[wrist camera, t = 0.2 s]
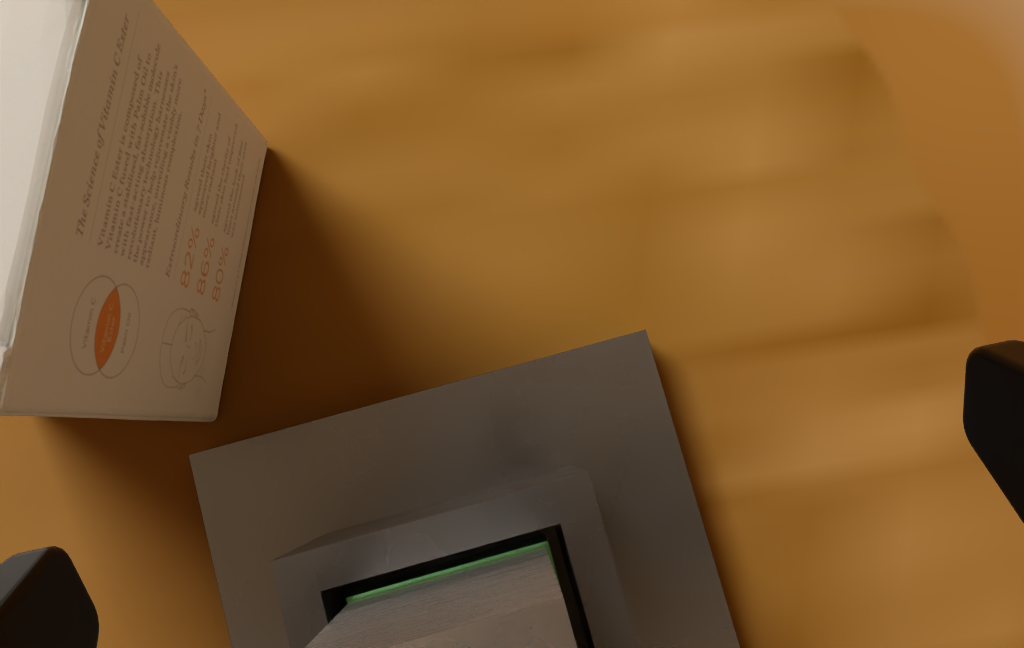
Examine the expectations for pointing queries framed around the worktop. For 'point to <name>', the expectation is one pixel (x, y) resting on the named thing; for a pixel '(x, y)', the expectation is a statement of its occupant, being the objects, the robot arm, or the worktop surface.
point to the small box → (117, 214)
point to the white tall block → (460, 602)
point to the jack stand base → (474, 501)
